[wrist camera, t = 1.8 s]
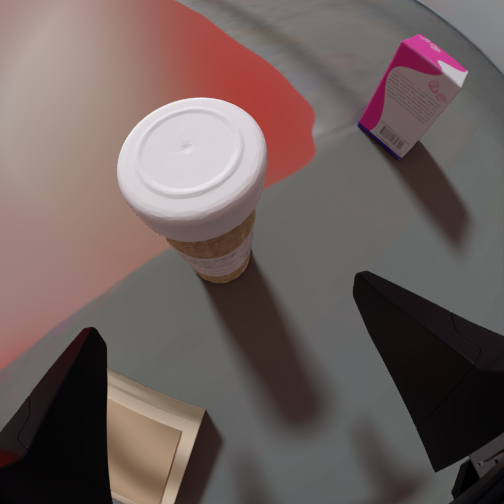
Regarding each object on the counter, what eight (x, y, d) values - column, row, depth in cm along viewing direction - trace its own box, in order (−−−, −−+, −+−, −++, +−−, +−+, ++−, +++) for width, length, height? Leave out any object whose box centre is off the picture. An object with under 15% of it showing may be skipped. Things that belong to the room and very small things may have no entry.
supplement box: (417, 136, 24) (471, 72, 13) (398, 162, 23) (462, 90, 12) (378, 103, 25) (419, 31, 14) (354, 124, 24) (400, 40, 13)
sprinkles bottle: (205, 216, 21) (164, 82, 8) (260, 238, 20) (291, 115, 7) (179, 270, 20) (85, 191, 7) (236, 295, 19) (227, 251, 6)
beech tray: (174, 502, 15) (167, 521, 12) (67, 449, 15) (50, 460, 12) (205, 409, 17) (199, 424, 14) (81, 353, 18) (59, 357, 15)
